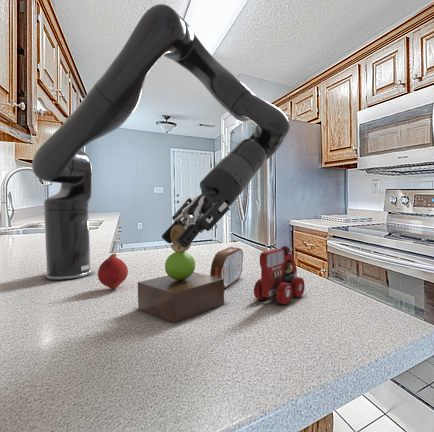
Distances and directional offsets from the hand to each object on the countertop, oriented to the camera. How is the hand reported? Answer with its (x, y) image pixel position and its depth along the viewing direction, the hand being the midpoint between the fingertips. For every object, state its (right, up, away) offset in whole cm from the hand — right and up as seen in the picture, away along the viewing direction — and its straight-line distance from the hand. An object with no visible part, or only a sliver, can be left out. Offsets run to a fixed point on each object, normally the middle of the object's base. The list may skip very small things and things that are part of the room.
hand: (172, 242), depth 56 cm
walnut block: (+1, -12, +2) cm, 12 cm away
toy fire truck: (+20, -12, +7) cm, 24 cm away
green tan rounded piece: (+1, -7, +2) cm, 8 cm away
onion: (-18, -12, +13) cm, 25 cm away
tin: (+7, -12, +17) cm, 22 cm away
